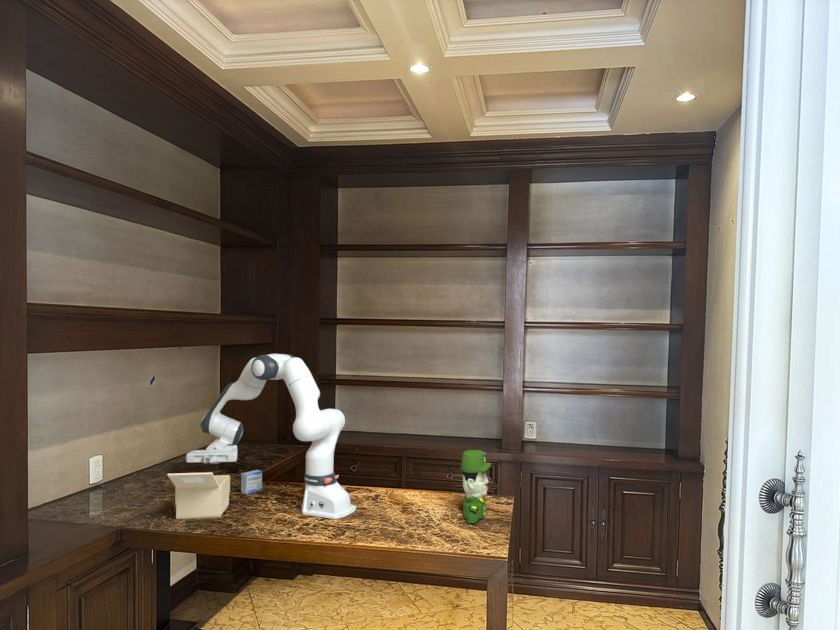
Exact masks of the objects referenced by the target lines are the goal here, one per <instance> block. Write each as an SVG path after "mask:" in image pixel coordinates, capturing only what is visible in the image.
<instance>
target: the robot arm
mask: <svg viewBox="0 0 840 630" xmlns="http://www.w3.org/2000/svg"><path fill="white" fill-rule="evenodd" d="M269 380H271V381H273V380H275V381H278V380H283V381H284V382H285V385H286V388H287V389H288V392H289V394H290V396H291V399H292V401H293V403H294V406H295V407H294V408H295V413H296V414H295V420H294V422H293V424H292V432H293V434H294V437H295V438H296V439H297V440H299V441H301V442H311V445H310V447H309V448H308V450H307V451H306V454H305V472H304V483H305V484H304V493H303V500H302V504H301V509H300V510H301V514H302V515H305V516H311V517H317V518H326V519H332V520H336V519H337V520H338V519H341V518H344V517H347V516H349V515H352V514H353V513H354V512H356V510H357V505H354V504H351V497H350V494H349V492H348V491H347V490H346V489H345V488H343V486H341V484H340V483H339V482H338V479H339V478H340V477H339V474H337V475H336V473H335V470H334V458H335V457H334V456H335V450H336V445H337V442H338V438H339V436H340V433H341V432H342V430H343V428H344V427H345V424H346V418H345V414H344V413H343V412H342V411H341V410H340V409H336V408H325V409H320V407H319V402H318V400H319V399H320V397H321V391H320V388H319V387H318V385H317V383H316V380H315V379H314V376H313V374H312V372H311V371H310V369H309V367H308V366H307V365H306V362H304V360H303V359H302V358H300V357H295V355H292V354H289V353H270V354H261V355H259V356H257V357H253V358H251V359H250V360H249V361H248V362H247V363H246V365H245V366H244V368H243V370H242V372H241V373H240V376H239V378H238V379H237V380H236V381H235V382H230V383H228V385H226V387H225V388H224V389H223V391H222V392H221V393H220V394H219V396H218V397H217V399H216V400H215V401H214V403H213V405H212V406H211V408H210V409H209V410H208V412H207V413H205V415H204V416H203V417H202V419H201V421H200V424H199V426H200V429H201V431H202V432H203V433H206V434H208V435H210V436H211V435H212V436H214V437H216V439H215V440H213V442H211V443H210V444H209V445H208V446H207V447H206V449H197V450H196V449H195V450H191V451H189V452H188V453H186V455H185V462H186V463H192V464H193V463H195V464H197V463H203V464H212V465H214V464H215V465H217V464H220V463H233V462H234V463H235V462H237V461H238V455H239V454H238V451H239V450H238V444H239V443H240V441H241V439H242V437H243V434H244V431H245V429H244V425H243V423H242V422H241V421H238V420H236V419H234V418H231V417H228V416H227V415H225V414H222V413H221V411H222V409H223V408H224V406H225V405H226V404H227V402H228V401H232V400H236V401H237V400H240V401H250V400H254V399H256V398H257V397H258V396H260V395H261V393H262V391H263V389H264V387H265V385H266V382H267V381H269Z"/></svg>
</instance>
